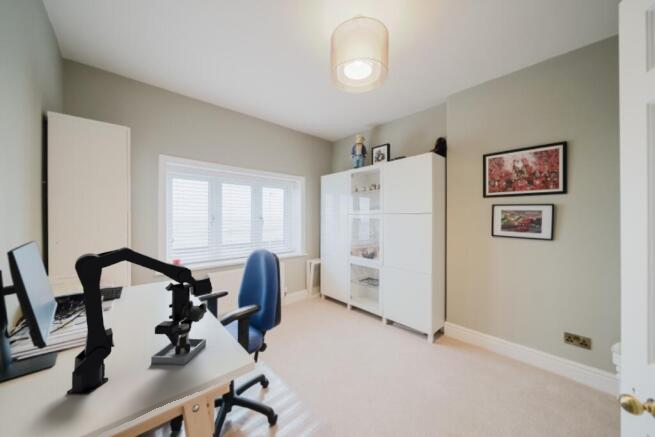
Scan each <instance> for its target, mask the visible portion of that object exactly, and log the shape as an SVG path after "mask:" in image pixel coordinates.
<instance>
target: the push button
mask: <svg viewBox="0 0 655 437" xmlns="http://www.w3.org/2000/svg"><path fill="white" fill-rule="evenodd" d="M179 328H182V329H181V330H180V331H179V334H178V343H177V346H176V348H175V349H173V350H172V351H175V352H171V353H170V354H172V353H175V354H183V353H186V352H187V353H188V352H190V343H189V338H190V337H189V334H190V332H191V330H192V325H189V324H188V323H183V324H179ZM186 334H187V343H186ZM179 344H180V345H179ZM170 351H171V350H170Z"/></svg>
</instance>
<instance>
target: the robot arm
mask: <svg viewBox="0 0 655 437" xmlns="http://www.w3.org/2000/svg"><path fill="white" fill-rule="evenodd" d="M125 261H126V262H128V263H131V264H134V265H137V266H140V267H142V268H145V269H149V270H152V271H154V272H157V273H160V274H162V275H164V276H166V277H167V278H169V279H170V280H173V281H174V282H177V283H175V284H174V283H173V282H170V283H169V284H168V285H166V286H165V288H164V289H165V290H166V291H167V292H171V303H169V304H168V308H169V309H170V308H171V314H170V315H169V316H168V319H169V320H163V321H162V322H160V323H159V324H157V325H156V326H155V327H154V335H165V336H166V337H167V339H168V340H169V341H170V343H172V345H173V346H177V343H178V334H179V331H180V330H181V329H182V328H179V325H180V324H183V323H188V324H189V325H191V326H192V325H193V323H198V322H200V321H201V320H202V319H203V318H204V316H205V314H206V313H207V312H208V310H207V304H206V303H204V302H202V303H200V304H199V305H198V304H197V305H194V302H193V300H191V296H193V297H194V298H197V297H202V296H206V295H207V296H208V295H211V294H212V292H213V285H212V282H211V277H208V276H205V277H203V278H195V277H194V276H192V273H193V272H192V270H191V269H190V268H188V267H186V266H184V265H180V264H176V263H169V262H165V261H162V260H160V259H157V258H154V257H152V256H149V255H147V254H144V253H141V252H138V251H135V250H134V249H132V248H130V247H128V246H127V247H126V246H123V247H120V248H117V249H113V250H110V251H109V250H108V251H104V252H100V253H89V252H88V253H84V254H82V255H80V256H79V257H78V258H77V259H76V260H75V263H74V264H75V265H74V269H75V273H76V275H77V277H78V280H79V282H80V284H81V286H82V291H83V299H84V311H85V318H86V319H85V320H86V328H87V331H86V337H85V344H84V349H83V350H82V351H81V352H80V351H79V353H78V354H77V355H76V356H75V357H74V364H73V365H74V367H73V368H74V370H73V371H72V373H71V388H70V389H68V390H67V391H66V394H68V395H89V394H90V393H92V392H93V391H95V390H96V389H98V388H99V387H100V386H102V385H103V384H104V383H106V382H107V381H109V378H110V377H105V375H106V367H105V365H106V364H105V360H106V359H107V358H108V357H109V356H110V355H111V352H112V348H115V343H114V338H113V337H114V334H113V333H114V332H113V329H112V327H109V328H107V329H106V327H105V320H104V312H103V305H102V304H103V303H102V293H101V292H102V291H101V278H102V274H103V272H102V271H103V269H104V268H108V267H111V266H113V265H116V264H119V263H121V262H125ZM185 283H187V284H185ZM186 338H187V334H186Z"/></svg>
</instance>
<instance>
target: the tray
mask: <svg viewBox="0 0 655 437" xmlns="http://www.w3.org/2000/svg"><path fill="white" fill-rule="evenodd" d="M186 343H187V338H186ZM189 343H190V352H188V353H187V352H186V353H183V354H175V353H172V354H170V353H171V352H175V351H172V350H173V349H175V348H176V346H173V345H172V343H171V342H169V343H168V344H167V345H165V346H164V347H162V349H160V350H159V351H157V352H155V353H154V354H153V355H152V356H151V357H150V361H151V362H150V364H151V365H163V366H164V365H167V366H169V365H171V366H185V365H187V364H188V363H189V362H190V360H192V359H193V358H195V356H196V355H197V354H198V353H199V352H201V350H203V348H204V347H206V346H207V338H193V337H192V338H190V337H189ZM179 345H180V344H179ZM170 350H171V351H170Z"/></svg>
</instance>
